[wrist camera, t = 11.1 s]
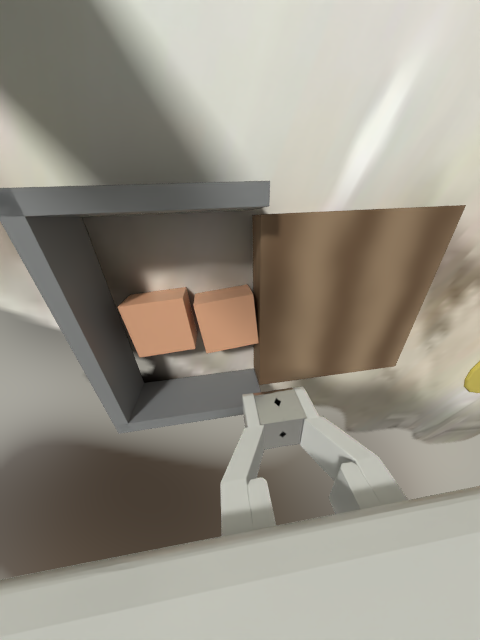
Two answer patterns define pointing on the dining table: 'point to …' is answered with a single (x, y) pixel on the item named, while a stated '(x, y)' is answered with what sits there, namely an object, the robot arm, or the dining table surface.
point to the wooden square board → (342, 286)
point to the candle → (473, 379)
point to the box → (96, 301)
